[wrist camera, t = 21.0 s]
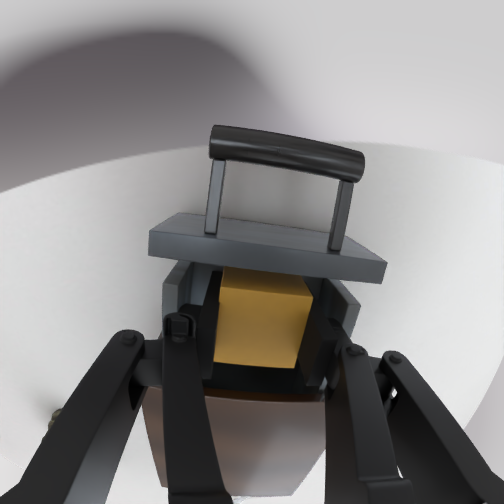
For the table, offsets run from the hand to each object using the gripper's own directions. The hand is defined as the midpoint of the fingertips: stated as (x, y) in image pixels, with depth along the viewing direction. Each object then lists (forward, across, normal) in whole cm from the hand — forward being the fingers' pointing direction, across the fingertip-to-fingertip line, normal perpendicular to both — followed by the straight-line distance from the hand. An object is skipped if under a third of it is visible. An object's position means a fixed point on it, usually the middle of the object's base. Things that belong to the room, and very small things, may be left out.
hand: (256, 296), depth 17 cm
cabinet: (+3, 0, -12) cm, 12 cm away
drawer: (+2, 0, 0) cm, 2 cm away
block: (0, 0, 0) cm, 0 cm away
